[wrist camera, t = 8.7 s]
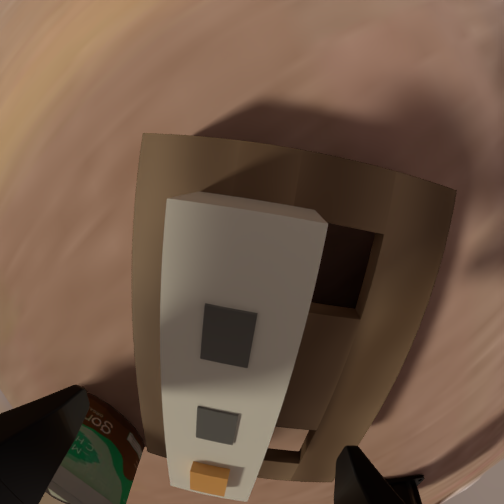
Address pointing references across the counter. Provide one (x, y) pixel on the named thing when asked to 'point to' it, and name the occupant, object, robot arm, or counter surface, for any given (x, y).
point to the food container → (99, 459)
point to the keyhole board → (320, 315)
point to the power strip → (230, 331)
